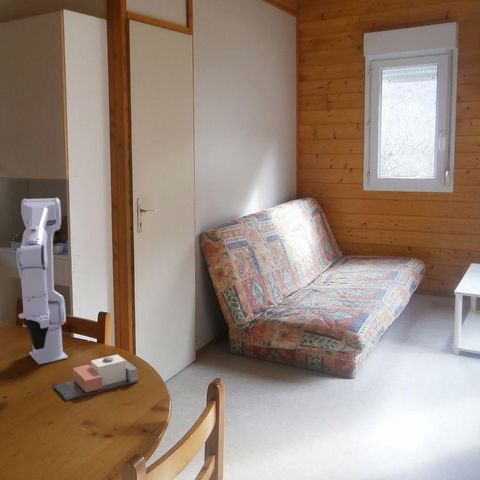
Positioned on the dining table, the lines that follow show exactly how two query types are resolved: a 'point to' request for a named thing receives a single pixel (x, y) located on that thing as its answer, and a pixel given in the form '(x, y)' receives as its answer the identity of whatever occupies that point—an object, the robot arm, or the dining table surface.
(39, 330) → the robot arm
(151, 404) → the dining table surface
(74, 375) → the block
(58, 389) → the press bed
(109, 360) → the block
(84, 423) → the dining table surface
